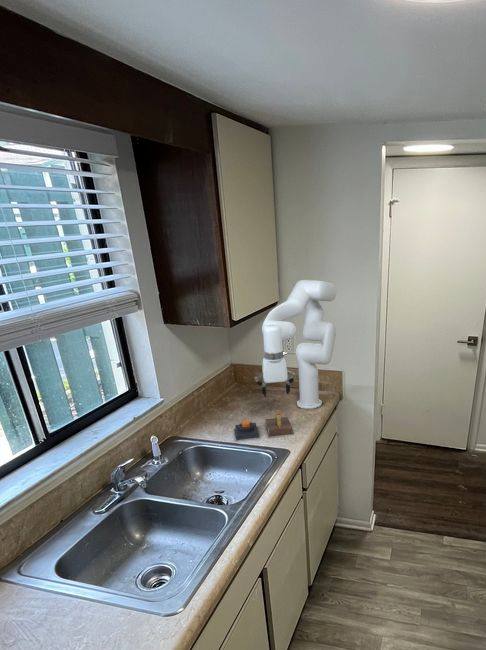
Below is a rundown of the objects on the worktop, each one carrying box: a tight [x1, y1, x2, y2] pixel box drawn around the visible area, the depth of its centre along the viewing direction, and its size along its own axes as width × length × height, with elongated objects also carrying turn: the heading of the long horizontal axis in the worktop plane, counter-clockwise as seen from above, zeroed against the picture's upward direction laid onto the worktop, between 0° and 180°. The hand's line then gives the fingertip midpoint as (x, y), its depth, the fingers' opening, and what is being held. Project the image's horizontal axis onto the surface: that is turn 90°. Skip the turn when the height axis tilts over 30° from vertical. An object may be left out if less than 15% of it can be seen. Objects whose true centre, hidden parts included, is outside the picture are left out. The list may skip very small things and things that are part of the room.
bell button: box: [241, 420, 251, 427], centre depth 187 cm, size 4×4×2 cm
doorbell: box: [234, 421, 259, 441], centre depth 188 cm, size 11×9×4 cm
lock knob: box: [274, 410, 282, 426], centre depth 190 cm, size 6×2×5 cm, turn 16°
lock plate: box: [265, 416, 293, 438], centre depth 192 cm, size 12×10×3 cm
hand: (276, 394), depth 185 cm, fingers open, 9 cm apart
